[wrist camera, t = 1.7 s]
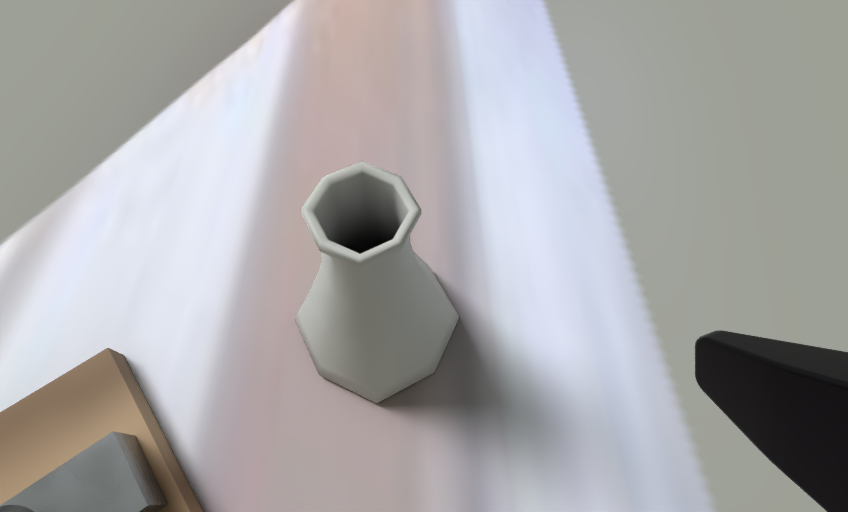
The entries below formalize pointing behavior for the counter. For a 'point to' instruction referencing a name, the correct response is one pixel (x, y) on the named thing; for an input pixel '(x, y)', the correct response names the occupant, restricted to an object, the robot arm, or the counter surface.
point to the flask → (371, 286)
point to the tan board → (86, 428)
